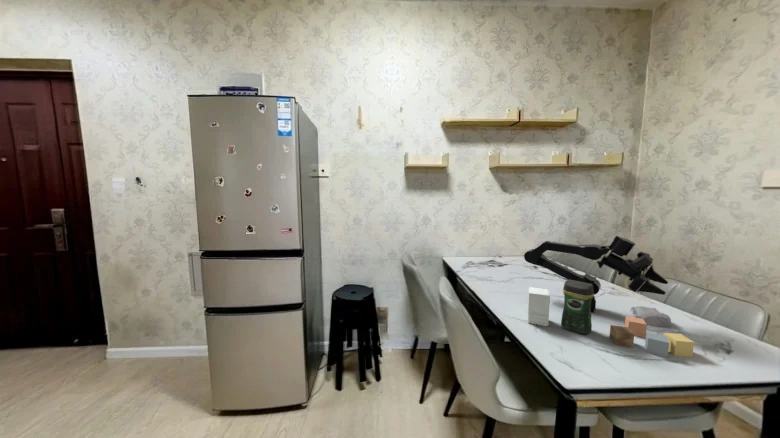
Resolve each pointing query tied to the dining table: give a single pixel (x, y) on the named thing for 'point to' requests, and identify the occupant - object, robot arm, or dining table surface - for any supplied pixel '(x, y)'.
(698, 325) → the dining table surface
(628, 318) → the terracotta cube
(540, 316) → the supplement box
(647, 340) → the slate cube
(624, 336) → the walnut cube
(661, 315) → the stone block
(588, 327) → the coffee jar
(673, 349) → the ochre cube
